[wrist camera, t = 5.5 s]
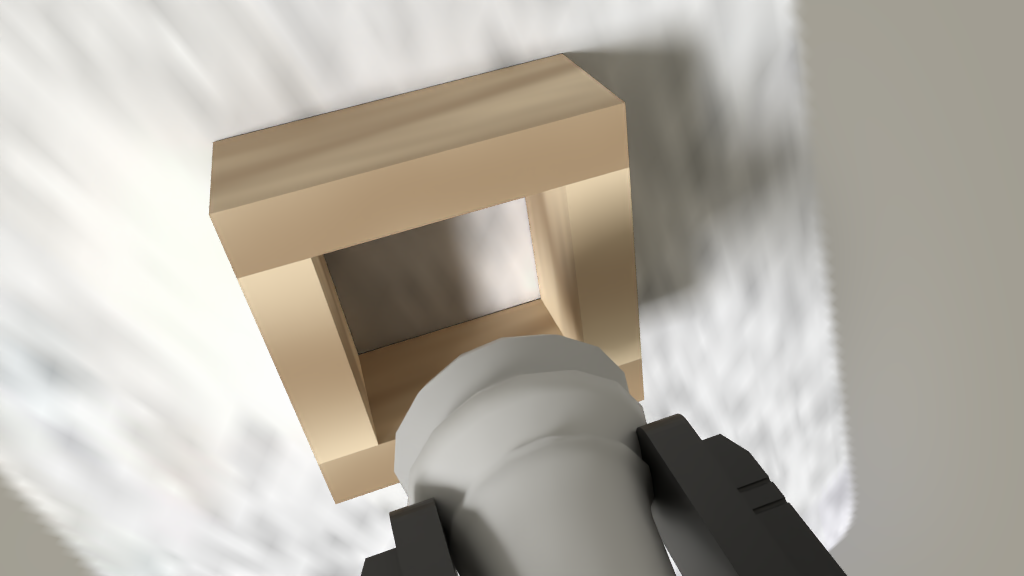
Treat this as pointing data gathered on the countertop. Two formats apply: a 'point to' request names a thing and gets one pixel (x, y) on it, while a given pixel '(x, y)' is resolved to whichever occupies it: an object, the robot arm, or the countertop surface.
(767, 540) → the robot arm
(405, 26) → the countertop surface
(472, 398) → the rook chess piece
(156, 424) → the countertop surface
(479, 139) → the socket block
